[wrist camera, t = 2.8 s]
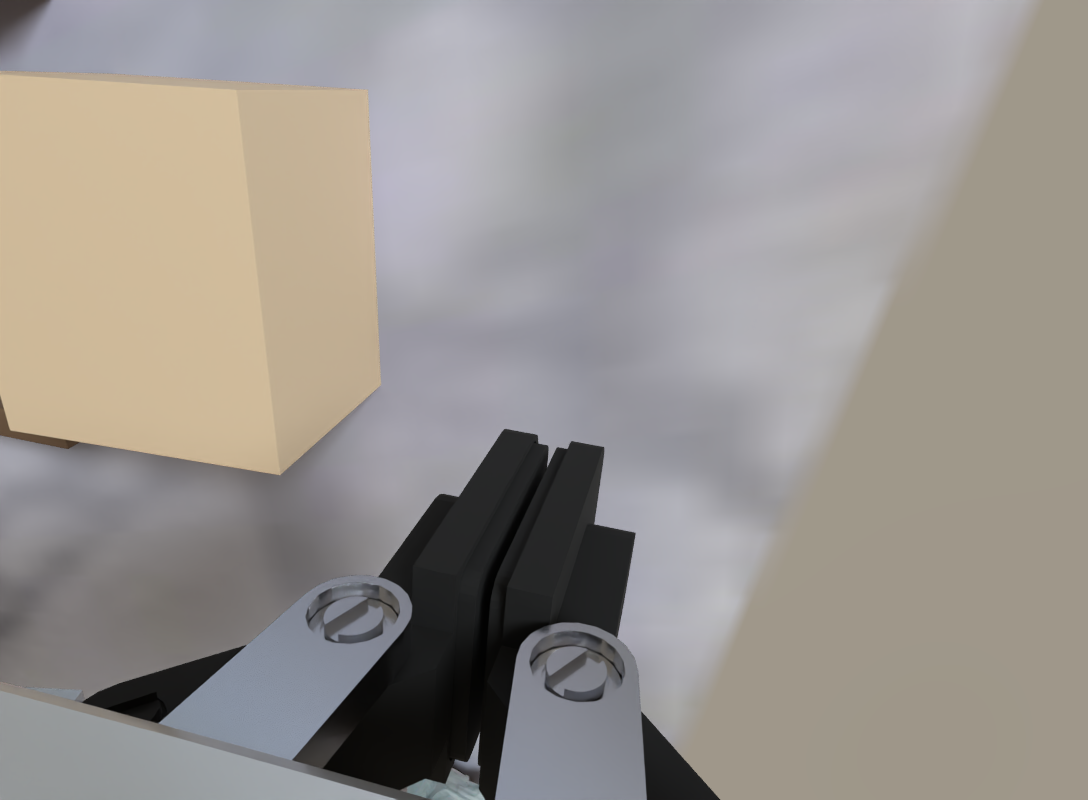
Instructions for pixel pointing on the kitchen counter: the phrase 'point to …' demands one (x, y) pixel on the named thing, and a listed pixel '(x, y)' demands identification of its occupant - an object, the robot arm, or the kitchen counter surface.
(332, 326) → the carton
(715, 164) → the kitchen counter surface
